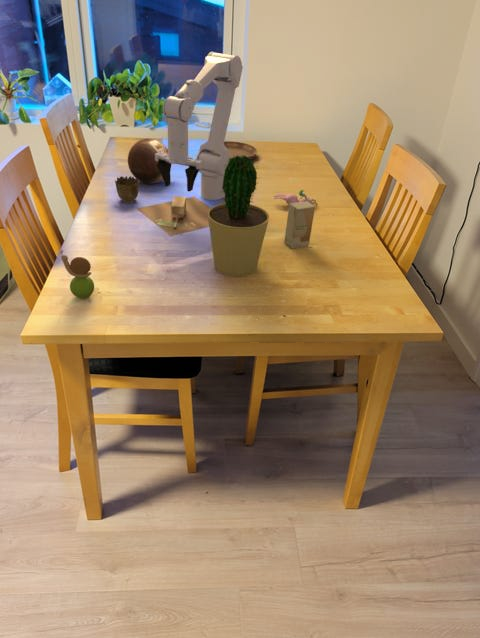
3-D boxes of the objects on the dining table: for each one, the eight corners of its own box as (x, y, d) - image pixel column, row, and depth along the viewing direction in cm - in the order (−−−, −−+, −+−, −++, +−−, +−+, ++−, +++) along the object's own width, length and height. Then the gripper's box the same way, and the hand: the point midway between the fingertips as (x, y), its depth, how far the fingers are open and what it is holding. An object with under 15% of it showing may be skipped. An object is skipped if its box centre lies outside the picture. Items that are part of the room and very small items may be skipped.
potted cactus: (245, 287, 129) (253, 169, 112) (195, 268, 135) (195, 154, 118) (274, 263, 140) (286, 152, 123) (227, 247, 146) (232, 139, 129)
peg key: (187, 209, 163) (187, 196, 161) (182, 229, 151) (182, 215, 149) (173, 208, 163) (173, 195, 161) (167, 228, 151) (166, 214, 149)
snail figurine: (69, 290, 123) (62, 245, 116) (96, 290, 124) (91, 245, 117) (65, 302, 119) (57, 256, 112) (93, 302, 120) (87, 256, 113)
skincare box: (291, 249, 147) (296, 209, 140) (283, 243, 150) (288, 203, 143) (310, 245, 150) (316, 206, 143) (301, 239, 153) (307, 200, 146)
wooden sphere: (160, 193, 176) (159, 148, 168) (121, 185, 180) (117, 142, 171) (178, 179, 188) (178, 137, 179) (141, 172, 191) (139, 131, 183)
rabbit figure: (312, 206, 178) (270, 198, 175) (317, 189, 175) (275, 181, 172) (316, 213, 173) (273, 205, 170) (321, 196, 170) (278, 188, 167)
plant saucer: (256, 166, 205) (257, 158, 203) (204, 163, 204) (205, 155, 202) (256, 150, 222) (256, 142, 220) (208, 147, 221) (208, 140, 219)
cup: (135, 209, 164) (133, 185, 159) (113, 206, 165) (111, 182, 160) (143, 201, 170) (142, 177, 165) (122, 198, 171) (120, 174, 166)
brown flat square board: (194, 200, 173) (194, 196, 172) (231, 224, 158) (231, 220, 158) (136, 211, 162) (136, 208, 162) (170, 239, 148) (170, 235, 147)
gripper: (148, 141, 146) (150, 187, 154) (194, 150, 142) (194, 197, 150) (161, 135, 152) (162, 180, 160) (205, 143, 147) (204, 189, 155)
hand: (178, 188), depth 155 cm, fingers open, 7 cm apart
